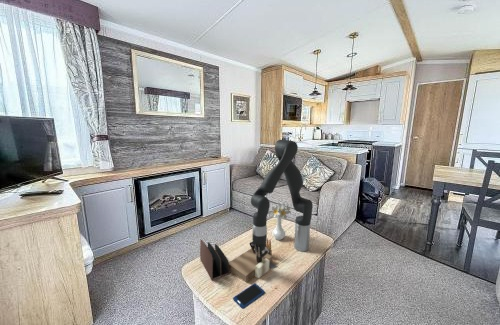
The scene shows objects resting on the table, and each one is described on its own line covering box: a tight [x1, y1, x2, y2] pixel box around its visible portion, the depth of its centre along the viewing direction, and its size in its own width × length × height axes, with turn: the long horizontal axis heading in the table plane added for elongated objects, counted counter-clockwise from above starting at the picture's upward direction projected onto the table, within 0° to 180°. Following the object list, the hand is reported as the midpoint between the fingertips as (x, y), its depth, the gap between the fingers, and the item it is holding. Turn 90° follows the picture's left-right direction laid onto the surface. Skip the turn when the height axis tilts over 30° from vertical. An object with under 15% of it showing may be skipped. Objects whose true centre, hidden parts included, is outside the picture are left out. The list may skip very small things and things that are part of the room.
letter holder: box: [199, 239, 230, 281], centre depth 113 cm, size 10×20×14 cm, turn 31°
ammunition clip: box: [264, 237, 273, 257], centre depth 124 cm, size 11×2×12 cm, turn 51°
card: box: [254, 258, 270, 279], centre depth 108 cm, size 9×6×2 cm
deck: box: [229, 247, 273, 283], centre depth 114 cm, size 22×14×4 cm, turn 137°
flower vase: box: [267, 202, 292, 241], centre depth 142 cm, size 13×18×25 cm
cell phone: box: [232, 283, 266, 309], centre depth 94 cm, size 7×14×1 cm, turn 131°
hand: (259, 261), depth 110 cm, fingers closed
